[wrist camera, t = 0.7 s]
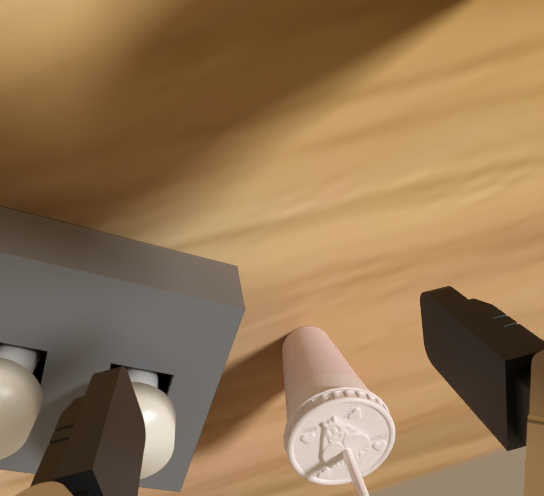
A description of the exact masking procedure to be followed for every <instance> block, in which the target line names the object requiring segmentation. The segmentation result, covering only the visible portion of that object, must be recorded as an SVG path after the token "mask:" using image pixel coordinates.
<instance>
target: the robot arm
mask: <svg viewBox="0 0 544 496" xmlns="http://www.w3.org/2000/svg"><path fill="white" fill-rule="evenodd" d="M420 306H421V317H422V327H423V338H424V346H425V350H426V353H427V356H428V358H429V360H430V362H431V363H432V365H433V366H434V367H435V368H436V370H437V371H438V372H439V373H440V374H441V375H442V377H443V378H444V379H445V380H446V381H447V382H448V383H449V385H450V386H451V387H452V388H453V389H454V390H455V391H456V393H457V394H458V395H459V396H460V397H461V398H462V399H463V401H464V402H465V403H466V404H467V405H468V406H469V407H470V409H471V410H472V411H473V412H474V413H475V414H476V415H477V417H478V418H479V419H480V420H481V421H482V422H483V423H484V425H485V426H486V427H487V428H488V429H489V430H490V431H491V433H492V434H493V435H494V436H495V437H496V438H497V439H498V441H499V442H500V443H501V444H502V445H503V446H504V447H505V449H506V450H507V451H509V450H513V449H517V448H520V447H524V446H526V461H525V482H524V496H544V341H543V340H541V339H540V338H539V337H537V336H536V335H534V334H533V333H532V332H530V331H529V330H527V329H526V328H524V327H523V326H522V325H520V324H517V322H516V321H515V320H513V319H512V318H510V317H509V316H506V314H505V313H503V312H502V311H500V310H499V309H498V308H496V307H495V306H493V305H492V304H489V303H486V302H483V301H480V300H477V299H470V300H468V299H467V298H466V297H464V296H463V295H462V294H460V293H459V292H458V291H456V290H455V289H454V288H452V287H451V286H446V287H442V288H438V289H434V290H430V291H426V292H423V293H422V294H421V296H420ZM145 440H146V431H145V423H144V418H143V415H142V412H141V409H140V406H139V403H138V400H137V397H136V394H135V392H134V389H133V386H132V383H131V380H130V377H129V374H128V372H127V370H126V368H125V367H123V366H122V367H118V368H114V369H110V370H106V371H102V372H98V373H94V374H93V375H92V378H91V380H90V383H89V386H88V388H87V391H86V394H85V396H82V397H78V398H75V399H74V400H73V401H72V402H71V404H70V405H69V406H68V407H67V408H66V409H65V410H64V411H63V412H62V413H61V416H60V418H59V420H58V423H57V425H56V427H55V432H53V434H52V437H51V439H50V445H48V446H47V449H46V451H45V453H44V456H43V458H42V460H41V463H40V465H39V467H38V470H37V472H36V474H35V477H34V479H33V482H32V484H31V486H30V487H29V488H27V489H25V490H23V491H22V492H20V493H19V494H17V495H16V496H137V495H138V488H139V481H140V475H141V468H142V461H143V454H144V448H145Z"/></svg>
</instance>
